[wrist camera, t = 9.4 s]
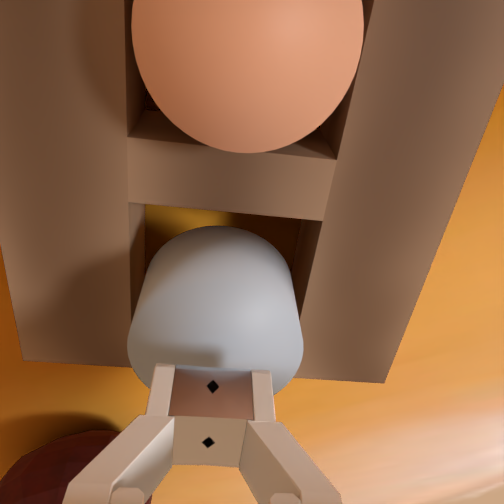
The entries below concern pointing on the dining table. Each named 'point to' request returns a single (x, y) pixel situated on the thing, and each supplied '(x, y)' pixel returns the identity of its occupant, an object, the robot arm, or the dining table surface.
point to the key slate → (217, 307)
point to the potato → (53, 468)
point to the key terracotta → (247, 66)
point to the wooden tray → (235, 177)
